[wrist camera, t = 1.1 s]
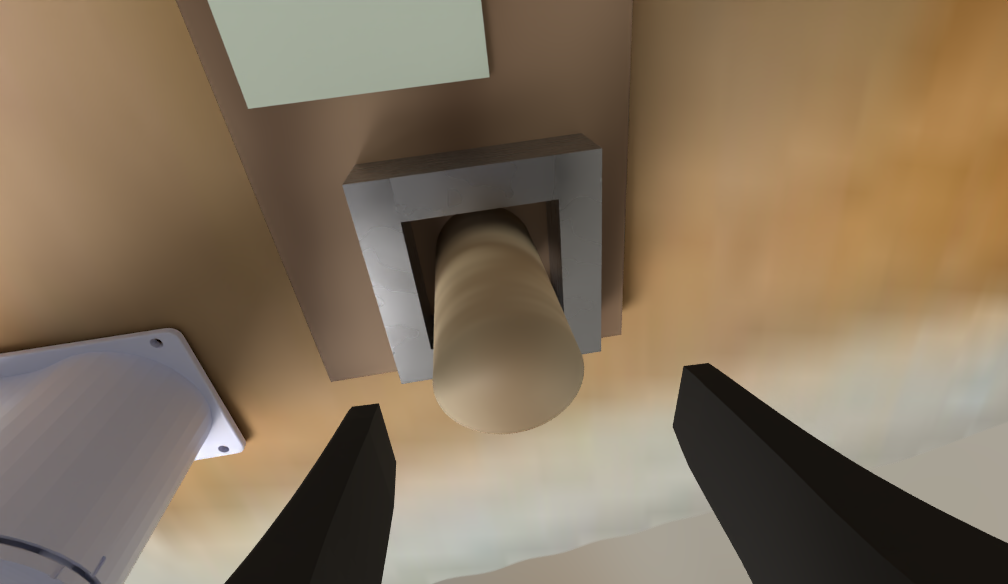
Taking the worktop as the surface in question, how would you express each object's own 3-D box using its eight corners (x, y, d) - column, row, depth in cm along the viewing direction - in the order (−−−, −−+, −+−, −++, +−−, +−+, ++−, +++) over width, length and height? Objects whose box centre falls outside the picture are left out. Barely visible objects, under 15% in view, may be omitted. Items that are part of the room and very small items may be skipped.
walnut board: (337, 361, 22) (330, 381, 21) (95, -267, 12) (51, -305, 10) (611, 317, 23) (621, 334, 22) (623, -314, 12) (645, -354, 11)
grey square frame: (405, 347, 21) (401, 383, 18) (354, 164, 16) (342, 185, 14) (584, 318, 21) (600, 351, 19) (581, 133, 17) (602, 148, 15)
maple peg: (444, 299, 20) (447, 445, 13) (427, 212, 18) (418, 330, 11) (535, 285, 20) (585, 421, 13) (528, 198, 18) (582, 304, 11)
